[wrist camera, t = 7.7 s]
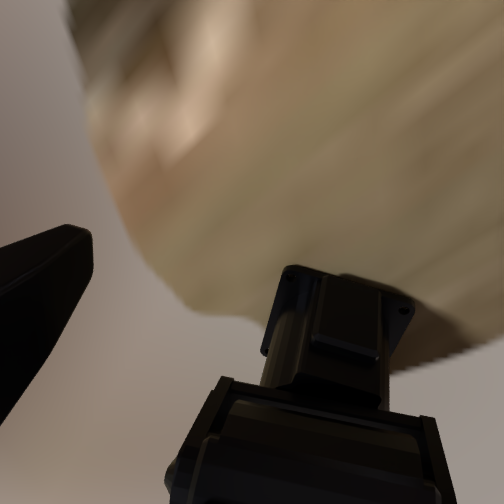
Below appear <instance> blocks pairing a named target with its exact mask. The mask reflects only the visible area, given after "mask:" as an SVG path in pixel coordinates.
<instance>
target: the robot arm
mask: <svg viewBox="0 0 504 504" xmlns="http://www.w3.org/2000/svg"><path fill="white" fill-rule="evenodd" d="M93 266H94V263H93V239H92V234H91V232H90V231H89V230H87V229H85V228H81V227H78V226H75V225H71V224H64V225H61V226H58V227H55V228H53V229H50V230H47V231H45V232H42V233H39V234H36V235H33V236H31V237H28V238H25V239H23V240H20V241H17V242H14V243H12V244H9V245H6V246H4V247H1V248H0V426H1V424H2V423H3V422H4V420H5V419H6V417H7V416H8V414H9V413H10V412H11V410H12V408H13V407H14V406H15V404H16V403H17V402H18V400H19V399H20V397H21V396H22V394H23V393H24V391H25V390H26V389H27V387H28V386H29V384H30V383H31V381H32V380H33V379H34V377H35V376H36V374H37V373H38V371H39V370H40V368H41V367H42V366H43V364H44V363H45V361H46V359H47V358H48V356H49V355H50V353H51V352H52V350H53V348H54V346H55V345H56V343H57V341H58V339H59V337H60V336H61V334H62V332H63V330H64V328H65V326H66V324H67V323H68V321H69V319H70V317H71V315H72V313H73V311H74V310H75V308H76V306H77V304H78V302H79V300H80V299H81V297H82V295H83V293H84V291H85V289H86V287H87V285H88V284H89V282H90V280H91V277H92V274H93ZM289 274H293V275H295V276H296V277H290V276H289ZM400 307H407V309H401V308H400ZM414 313H415V304H414V302H413V301H412V300H411V299H409V298H407V297H403V296H400V295H396V294H393V293H389V292H386V291H382V290H379V289H375V288H372V287H368V286H365V285H361V284H358V283H354V282H351V281H347V280H344V279H341V278H337V277H334V276H330V275H327V274H323V273H320V272H316V271H313V270H309V269H306V268H302V267H299V266H295V265H289V266H286V267H285V268H284V269H283V272H282V275H281V279H280V282H279V286H278V289H277V293H276V296H275V300H274V303H273V307H272V310H271V314H270V317H269V321H268V324H267V328H266V331H265V335H264V338H263V342H262V345H261V349H260V352H261V354H263V356H265V357H267V359H266V363H265V366H264V370H263V373H262V377H261V381H260V385H259V386H258V385H254V384H249V383H244V382H239V381H234V378H230V377H225V376H221V378H220V380H219V381H218V383H217V385H216V387H215V389H214V390H211V392H210V394H209V396H208V398H207V399H206V401H205V403H204V405H203V407H202V409H201V411H200V413H199V414H198V416H197V418H196V420H195V422H194V424H193V426H192V428H191V430H190V431H189V433H188V435H187V437H186V439H185V441H184V443H183V445H182V447H181V448H180V450H179V453H178V455H177V457H176V458H175V459H174V460H173V461H172V463H171V464H170V465H169V467H168V468H167V471H166V474H165V479H164V483H165V486H166V488H167V490H168V492H169V494H170V504H457V501H456V496H455V492H454V488H453V484H452V480H451V477H450V473H449V469H448V466H447V462H446V458H445V454H444V451H443V447H442V443H441V439H440V435H439V431H438V428H437V424H436V420H435V418H433V417H428V416H423V415H420V416H419V417H415V416H410V415H405V414H400V413H395V412H390V411H389V359H390V357H391V355H392V353H393V352H394V350H395V348H396V346H397V344H398V343H399V341H400V339H401V337H402V335H403V334H404V332H405V330H406V328H407V326H408V324H409V323H410V321H411V319H412V317H413V315H414Z"/></svg>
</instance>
